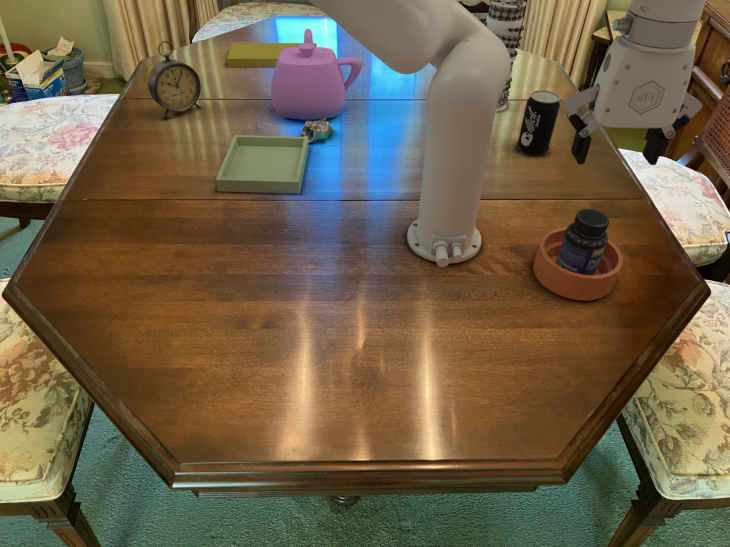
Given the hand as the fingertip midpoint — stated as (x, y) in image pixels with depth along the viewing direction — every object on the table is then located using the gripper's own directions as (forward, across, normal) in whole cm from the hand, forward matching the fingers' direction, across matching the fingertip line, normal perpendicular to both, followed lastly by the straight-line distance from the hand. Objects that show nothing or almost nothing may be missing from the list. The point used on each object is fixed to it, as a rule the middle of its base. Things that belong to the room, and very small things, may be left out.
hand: (613, 159), depth 75 cm
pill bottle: (+20, -1, -1) cm, 20 cm away
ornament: (+20, -45, +44) cm, 66 cm away
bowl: (+21, -1, -1) cm, 21 cm away
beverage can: (+21, +2, +40) cm, 45 cm away
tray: (+20, -54, +30) cm, 65 cm away
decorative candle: (+20, -4, +62) cm, 66 cm away
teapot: (+20, -48, +58) cm, 78 cm away
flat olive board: (+20, -60, +89) cm, 109 cm away
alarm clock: (+20, -78, +54) cm, 97 cm away
